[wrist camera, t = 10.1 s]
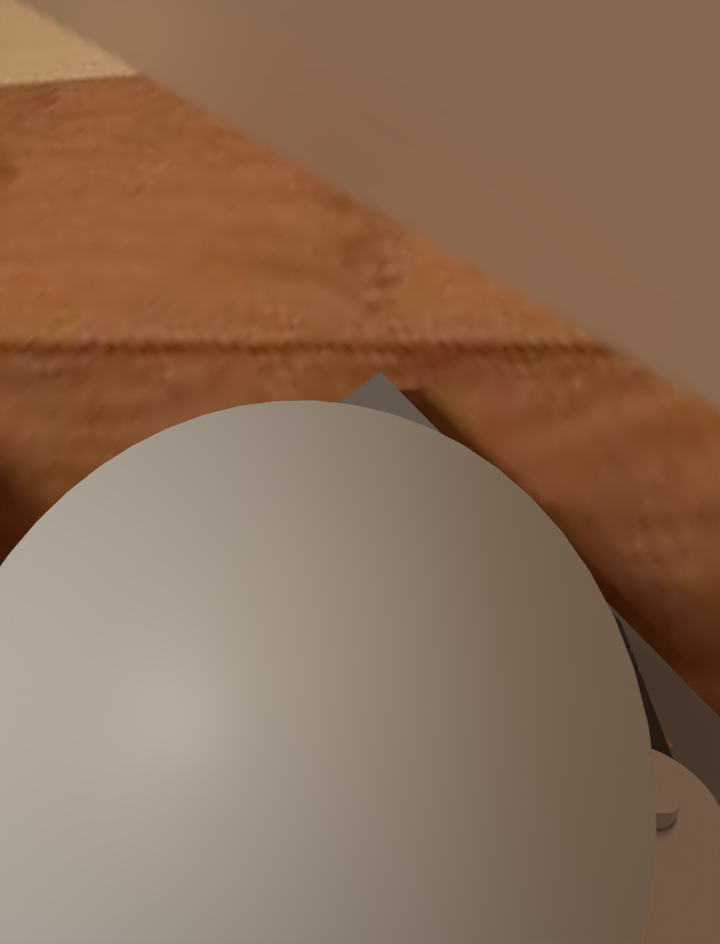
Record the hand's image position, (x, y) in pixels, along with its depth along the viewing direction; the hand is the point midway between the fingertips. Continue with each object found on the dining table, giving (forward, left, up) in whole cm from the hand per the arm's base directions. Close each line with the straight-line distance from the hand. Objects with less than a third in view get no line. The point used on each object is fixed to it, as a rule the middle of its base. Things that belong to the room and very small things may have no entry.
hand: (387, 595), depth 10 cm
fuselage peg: (+1, -1, -6) cm, 6 cm away
